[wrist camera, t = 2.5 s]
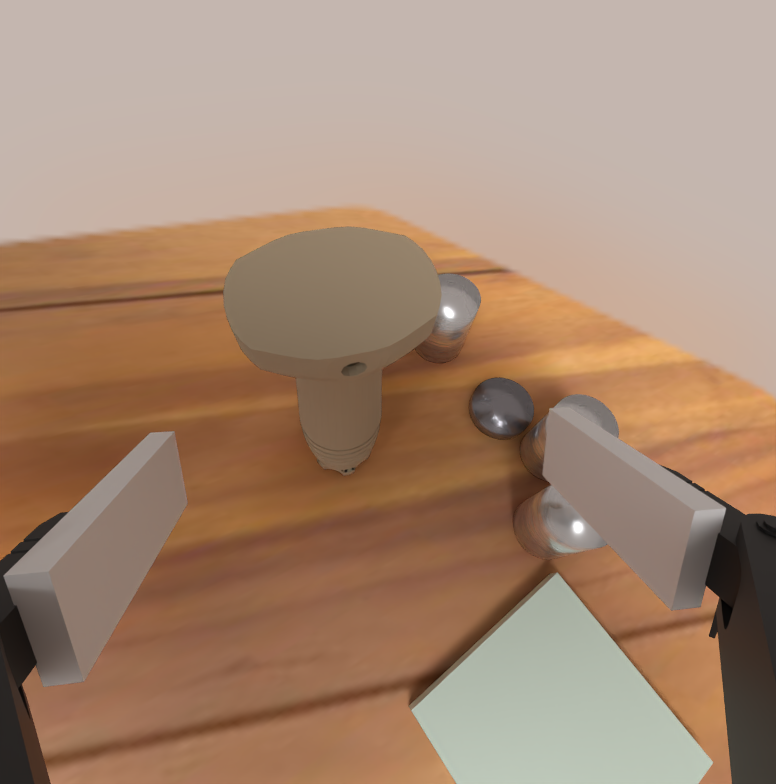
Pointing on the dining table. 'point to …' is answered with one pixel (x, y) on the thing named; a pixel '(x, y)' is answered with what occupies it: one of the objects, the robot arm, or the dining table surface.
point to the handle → (334, 325)
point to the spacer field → (548, 507)
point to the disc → (501, 408)
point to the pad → (554, 705)
